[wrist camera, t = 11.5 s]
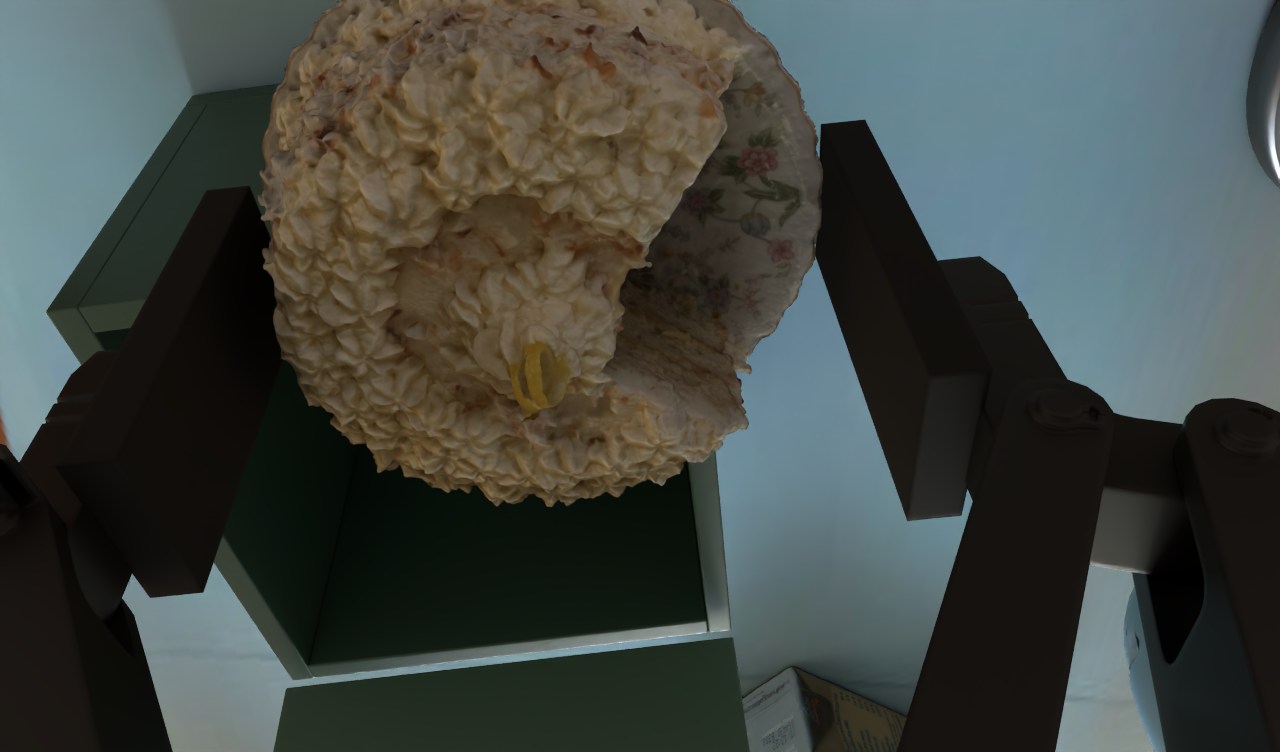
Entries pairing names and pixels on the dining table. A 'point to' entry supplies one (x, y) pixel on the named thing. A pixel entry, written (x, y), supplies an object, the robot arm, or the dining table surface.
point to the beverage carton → (817, 718)
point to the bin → (394, 487)
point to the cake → (535, 233)
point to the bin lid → (533, 706)
